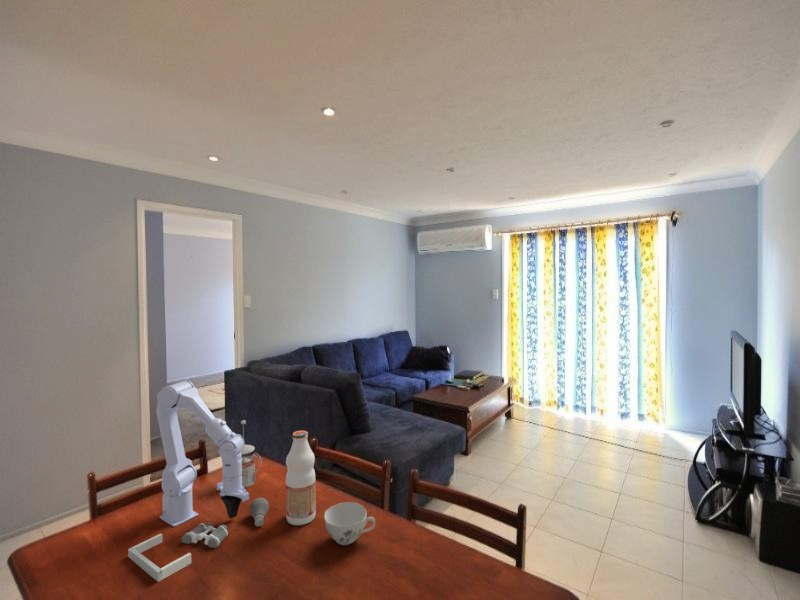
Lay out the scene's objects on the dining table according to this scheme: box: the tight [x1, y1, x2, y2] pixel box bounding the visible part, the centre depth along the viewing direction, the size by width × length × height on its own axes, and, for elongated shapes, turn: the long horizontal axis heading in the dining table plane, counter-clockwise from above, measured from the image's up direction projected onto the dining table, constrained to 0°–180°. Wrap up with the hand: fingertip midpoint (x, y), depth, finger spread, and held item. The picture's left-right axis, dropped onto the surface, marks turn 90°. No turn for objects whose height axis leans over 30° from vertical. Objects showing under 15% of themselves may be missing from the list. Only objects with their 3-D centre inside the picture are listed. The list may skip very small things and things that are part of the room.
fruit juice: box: [285, 430, 317, 526], centre depth 129 cm, size 9×9×28 cm
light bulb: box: [249, 497, 270, 528], centre depth 128 cm, size 6×6×10 cm
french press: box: [240, 419, 263, 489], centre depth 152 cm, size 10×12×25 cm
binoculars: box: [180, 522, 229, 549], centre depth 119 cm, size 12×8×4 cm, turn 78°
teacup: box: [323, 501, 376, 546], centre depth 117 cm, size 15×12×8 cm
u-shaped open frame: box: [127, 533, 192, 583], centre depth 109 cm, size 17×8×2 cm, turn 56°
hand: (232, 516), depth 127 cm, fingers closed
